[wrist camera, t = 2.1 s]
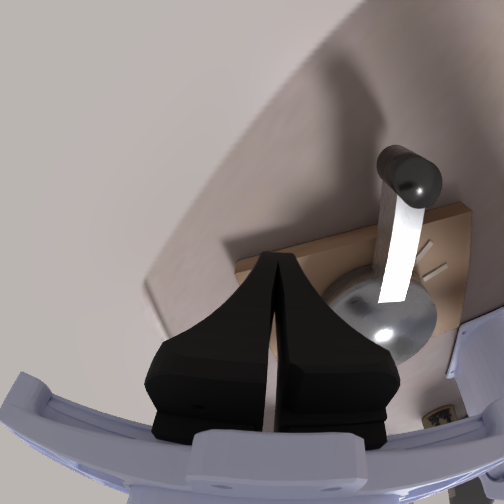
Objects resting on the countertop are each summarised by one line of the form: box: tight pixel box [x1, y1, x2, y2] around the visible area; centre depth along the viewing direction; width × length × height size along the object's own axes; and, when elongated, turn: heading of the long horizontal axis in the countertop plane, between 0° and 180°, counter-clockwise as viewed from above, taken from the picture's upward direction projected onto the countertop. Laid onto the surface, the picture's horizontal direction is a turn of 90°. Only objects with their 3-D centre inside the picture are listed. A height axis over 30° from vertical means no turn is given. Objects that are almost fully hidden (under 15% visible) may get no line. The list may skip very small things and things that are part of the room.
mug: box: [422, 405, 458, 429], centre depth 26 cm, size 8×6×12 cm
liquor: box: [448, 416, 495, 504], centre depth 22 cm, size 9×9×30 cm
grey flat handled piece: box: [322, 145, 442, 366], centre depth 15 cm, size 15×8×3 cm, turn 5°
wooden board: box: [234, 202, 472, 363], centre depth 19 cm, size 11×16×2 cm
